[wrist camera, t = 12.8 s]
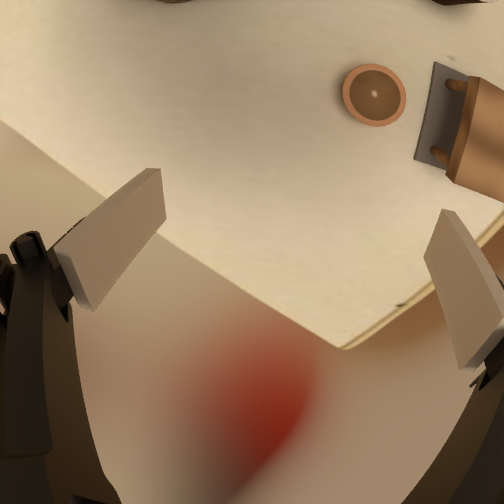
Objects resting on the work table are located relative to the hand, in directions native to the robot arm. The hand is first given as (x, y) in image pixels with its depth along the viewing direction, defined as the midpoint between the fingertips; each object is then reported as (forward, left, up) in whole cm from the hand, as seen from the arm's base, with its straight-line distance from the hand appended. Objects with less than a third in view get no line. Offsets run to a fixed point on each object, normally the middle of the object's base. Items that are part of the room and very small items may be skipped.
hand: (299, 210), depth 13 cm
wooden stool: (-5, +21, -26) cm, 34 cm away
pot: (-5, +7, -26) cm, 27 cm away
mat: (-5, +22, -26) cm, 34 cm away
